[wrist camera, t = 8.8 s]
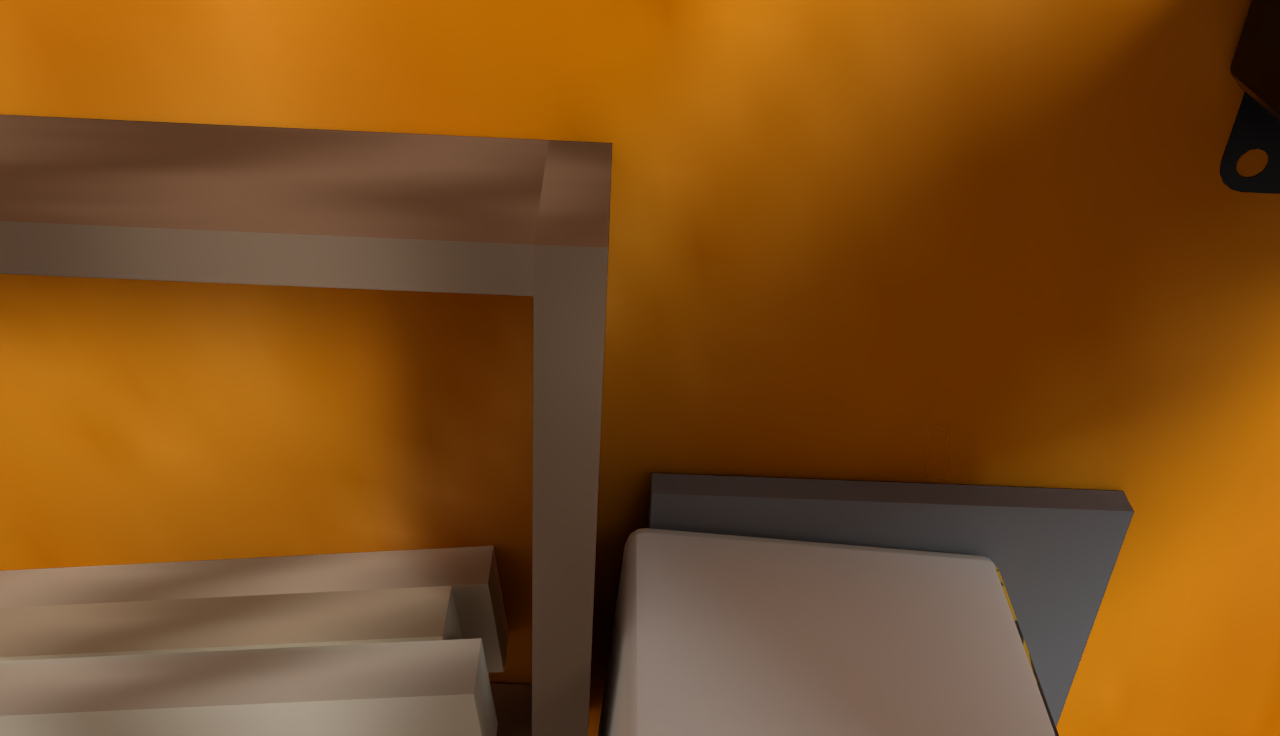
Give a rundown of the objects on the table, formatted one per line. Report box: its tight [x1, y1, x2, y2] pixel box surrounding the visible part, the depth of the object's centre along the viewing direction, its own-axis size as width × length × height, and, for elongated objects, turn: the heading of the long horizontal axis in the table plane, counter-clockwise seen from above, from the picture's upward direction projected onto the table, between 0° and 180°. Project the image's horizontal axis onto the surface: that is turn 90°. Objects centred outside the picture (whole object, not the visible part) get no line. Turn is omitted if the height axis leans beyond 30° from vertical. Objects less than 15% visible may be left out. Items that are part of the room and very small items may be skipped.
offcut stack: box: [0, 546, 509, 736], centre depth 23 cm, size 12×2×4 cm, turn 94°
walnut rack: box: [0, 115, 612, 736], centre depth 21 cm, size 16×13×4 cm
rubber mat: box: [648, 473, 1134, 726], centre depth 25 cm, size 9×9×1 cm
